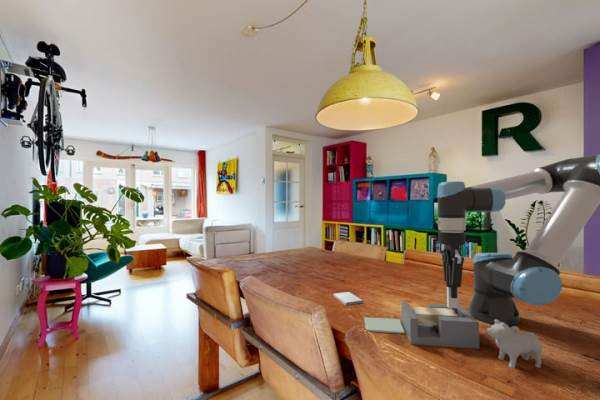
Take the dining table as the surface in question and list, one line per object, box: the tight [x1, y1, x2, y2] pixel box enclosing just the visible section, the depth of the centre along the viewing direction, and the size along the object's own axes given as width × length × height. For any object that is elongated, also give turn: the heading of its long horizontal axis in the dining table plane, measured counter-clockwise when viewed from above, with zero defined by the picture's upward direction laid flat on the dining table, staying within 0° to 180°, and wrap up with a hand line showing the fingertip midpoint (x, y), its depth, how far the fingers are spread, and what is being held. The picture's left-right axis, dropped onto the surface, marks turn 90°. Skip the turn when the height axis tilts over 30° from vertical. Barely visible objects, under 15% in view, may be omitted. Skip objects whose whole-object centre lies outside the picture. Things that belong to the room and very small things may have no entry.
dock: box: [401, 301, 480, 350], centre depth 89 cm, size 18×14×8 cm
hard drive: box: [332, 291, 364, 306], centre depth 123 cm, size 2×8×12 cm
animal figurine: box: [486, 320, 543, 369], centre depth 74 cm, size 5×13×10 cm, turn 91°
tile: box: [411, 306, 459, 325], centre depth 89 cm, size 12×6×3 cm, turn 80°
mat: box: [363, 316, 406, 335], centre depth 96 cm, size 12×10×1 cm
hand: (452, 307), depth 88 cm, fingers closed
